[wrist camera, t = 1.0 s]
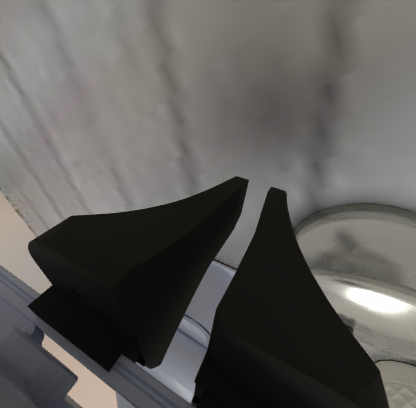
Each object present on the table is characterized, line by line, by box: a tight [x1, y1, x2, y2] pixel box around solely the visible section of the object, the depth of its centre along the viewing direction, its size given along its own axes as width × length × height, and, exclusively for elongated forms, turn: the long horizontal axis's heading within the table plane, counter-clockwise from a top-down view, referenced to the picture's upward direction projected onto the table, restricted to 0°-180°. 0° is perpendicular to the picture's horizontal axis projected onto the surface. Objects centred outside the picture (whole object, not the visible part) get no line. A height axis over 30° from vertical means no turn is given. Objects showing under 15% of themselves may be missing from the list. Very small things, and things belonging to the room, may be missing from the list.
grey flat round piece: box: [294, 203, 416, 289], centre depth 20 cm, size 15×16×3 cm
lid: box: [309, 267, 416, 360], centre depth 16 cm, size 14×14×2 cm
